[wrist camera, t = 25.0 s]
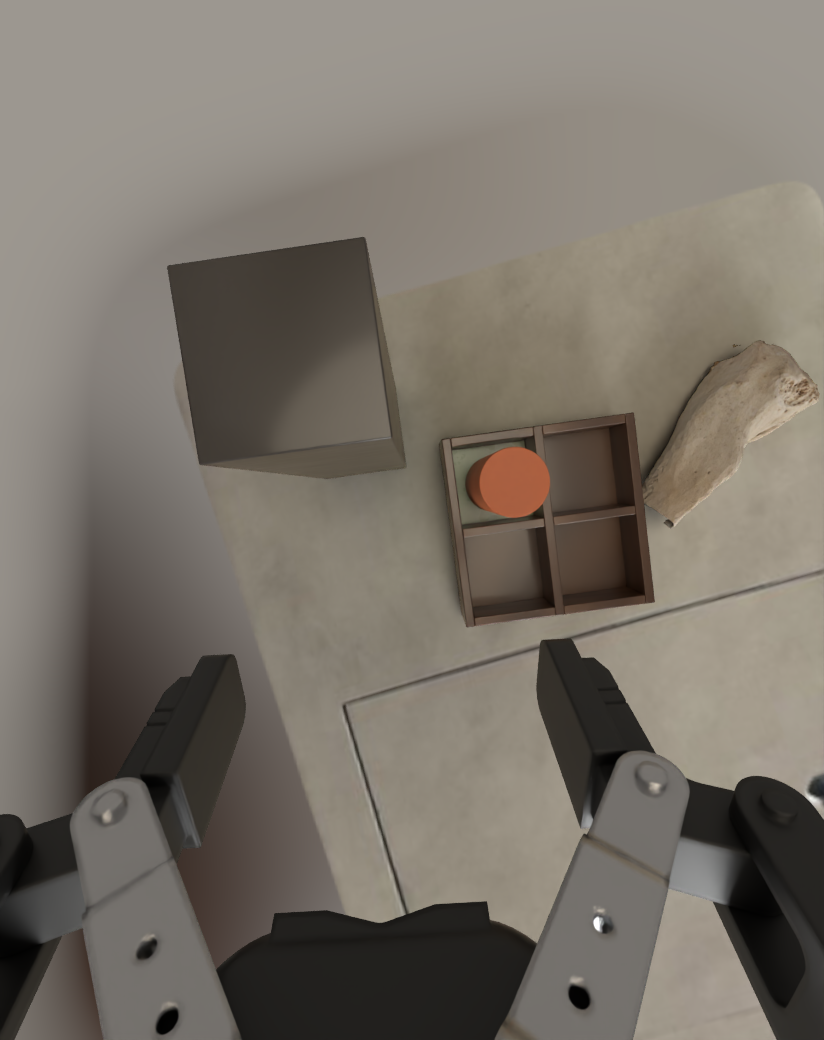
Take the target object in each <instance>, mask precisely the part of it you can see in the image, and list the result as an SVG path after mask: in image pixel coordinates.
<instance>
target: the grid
mask: <svg viewBox="0 0 824 1040" xmlns="http://www.w3.org/2000/svg"><path fill="white" fill-rule="evenodd" d="M439 447H440V455H441V462H442V470H443V477H444V485H445V492H446V500H447V507H448V515H449V522H450V530H451V537H452V545H453V552H454V560H455V567H456V575H457V582H458V590H459V597H460V605H461V612H462V616H463V619H464V621H465V624H466V627H473V626H481V625H488V624H496V623H503V622H511V621H518V620H526V619H533V618H541V617H548V616H555V615H564V614H571V613H579V612H586V611H594V610H601V609H609V608H616V607H624V606H631V605H639V604H645V603H654V602H655V600H654V591H653V582H652V573H651V564H650V555H649V546H648V537H647V528H646V518H645V509H644V500H643V491H642V482H641V473H640V464H639V455H638V446H637V437H636V428H635V418H634V413H626V414H619V415H612V416H605V417H598V418H591V419H583V420H576V421H569V422H562V423H555V424H548V425H540V426H533V427H526V428H519V429H512V430H505V431H497V432H490V433H483V434H476V435H469V436H462V437H454V438H451V439H450V438H447V439H442V440H441V442H440V444H439ZM508 447H522V448H526V449H529V450H531V451H533V452H534V453H536V454H537V455H538V456H539V457H540V458H541V459H542V460H543V461H544V463H545V464H546V466H547V468H548V472H549V476H550V488H549V492H548V495H547V497H546V499H545V501H544V502H543V504H542V505H541V506H540V507H539V508H538V509H537V510H536V511H534V512H533V513H531V514H529V515H526V516H523V517H518V518H510V517H505V516H502V515H498V514H495V513H492V512H489V511H486V510H483V509H481V508H479V507H477V506H476V505H475V504H474V503H473V502H472V501H471V500H470V498H469V496H468V494H467V491H466V485H465V483H466V476H467V473H468V471H469V469H470V468H471V467H472V465H473V464H474V463H475V462H477V461H478V460H480V459H482V458H484V457H486V456H488V455H490V454H492V453H495V452H497V451H499V450H501V449H504V448H508Z"/></svg>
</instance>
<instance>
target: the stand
mask: <svg viewBox="0 0 824 1040" xmlns="http://www.w3.org/2000/svg"><path fill="white" fill-rule="evenodd" d="M167 269H168V274H169V281H170V287H171V294H172V300H173V306H174V312H175V318H176V324H177V331H178V337H179V342H180V348H181V355H182V361H183V367H184V374H185V380H186V386H187V392H188V398H189V404H190V411H191V417H192V423H193V429H194V435H195V441H196V448H197V454H198V460H199V464H200V465H206V466H215V467H224V468H233V469H242V470H251V471H260V472H269V473H278V474H287V475H296V476H306V477H315V478H324V479H329V478H337V477H344V476H351V475H358V474H365V473H373V472H380V471H387V470H394V469H401V468H406V461H405V453H404V446H403V439H402V432H401V424H400V417H399V410H398V403H397V395H396V388H395V383H394V378H393V373H392V368H391V363H390V358H389V353H388V348H387V343H386V338H385V333H384V328H383V323H382V318H381V313H380V308H379V303H378V298H377V293H376V288H375V283H374V278H373V273H372V269H371V264H370V258H369V253H368V249H367V243H366V239H365V238H364V237H360V238H353V239H347V240H339V241H333V242H326V243H319V244H312V245H305V246H299V247H292V248H285V249H278V250H271V251H265V252H258V253H251V254H244V255H237V256H230V257H224V258H216V259H211V260H203V261H196V262H189V263H182V264H175V265H169V266H167Z"/></svg>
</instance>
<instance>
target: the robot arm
mask: <svg viewBox="0 0 824 1040" xmlns="http://www.w3.org/2000/svg"><path fill="white" fill-rule="evenodd" d="M537 700H538V705H539V709H540V712H541V715H542V718H543V721H544V724H545V727H546V730H547V732H548V735H549V738H550V741H551V744H552V747H553V750H554V753H555V756H556V759H557V761H558V764H559V767H560V770H561V773H562V776H563V779H564V782H565V785H566V788H567V790H568V793H569V796H570V799H571V802H572V805H573V808H574V811H575V814H576V817H577V819H578V822H579V825H580V828H590V829H589V831H588V833H587V835H586V834H583V836H582V837H581V839H580V841H579V844H578V846H577V848H576V851H575V853H574V856H573V858H572V861H571V863H570V865H569V868H568V870H567V873H566V875H565V878H564V880H563V882H562V885H561V887H560V890H559V892H558V895H557V897H556V899H555V902H554V904H553V907H552V909H551V912H550V914H549V916H548V919H547V921H546V924H545V926H544V929H543V931H542V934H541V936H540V938H539V941H538V943H536V942H534V941H533V940H532V939H530V938H529V937H527V936H526V935H525V934H523V933H521V932H519V931H517V930H516V929H514V928H512V927H510V926H507V925H505V924H502V923H500V922H496V921H492V920H490V919H489V912H488V905H487V901H486V902H468V903H451V904H435V905H432V906H429V907H426V908H423V909H421V910H418V911H415V912H412V913H410V914H407V915H404V916H401V917H398V918H396V919H393V920H390V921H387V922H384V923H375V922H371V921H367V920H363V919H359V918H355V917H351V916H347V915H343V914H339V913H335V912H331V911H327V910H326V911H308V912H291V913H275V914H274V919H273V924H272V930H271V933H270V934H267V935H265V936H262V937H260V938H258V939H256V940H254V941H252V942H250V943H249V944H247V945H246V946H244V947H243V948H241V949H240V950H238V951H237V952H236V953H234V954H233V955H232V956H231V957H229V958H228V959H227V960H226V961H224V962H223V963H222V964H221V965H220V966H219V967H218V968H217V969H215V966H214V964H213V961H212V958H211V956H210V953H209V950H208V948H207V945H206V943H205V940H204V937H203V934H202V932H201V929H200V927H199V924H198V921H197V918H196V916H195V913H194V911H193V908H192V905H191V902H190V900H189V897H188V895H187V892H186V889H185V886H184V884H183V881H182V879H181V876H180V873H179V871H178V868H177V865H176V864H177V862H178V859H179V856H180V854H181V851H182V848H199V847H201V845H202V842H203V839H204V836H205V833H206V830H207V828H208V825H209V822H210V819H211V816H212V813H213V810H214V807H215V804H216V801H217V799H218V796H219V793H220V790H221V787H222V784H223V781H224V779H225V775H226V773H227V770H228V767H229V764H230V761H231V758H232V755H233V752H234V750H235V747H236V744H237V741H238V738H239V735H240V732H241V730H242V727H243V723H244V718H245V710H246V703H245V696H244V692H243V688H242V683H241V679H240V674H239V670H238V665H237V661H236V658H235V656H234V655H232V654H228V655H208V656H203V657H201V659H200V660H199V662H198V664H197V666H196V668H195V670H194V672H193V674H192V676H191V677H180V678H179V679H178V680H177V681H176V682H175V683H174V684H173V685H172V686H171V687H169V688H168V689H167V690H166V691H165V692H164V694H163V695H162V697H161V699H160V701H159V702H158V704H157V706H156V708H155V712H153V713H152V715H151V716H150V718H149V720H148V722H147V726H146V727H144V729H143V731H142V732H141V734H140V736H139V738H138V739H137V741H136V743H135V745H134V746H133V748H132V750H131V752H130V753H129V755H128V757H127V759H126V760H125V762H124V764H123V766H122V767H121V769H120V771H119V773H118V774H117V776H116V778H115V779H114V780H112V781H110V782H107V783H105V784H103V785H101V786H100V787H98V788H96V789H95V790H94V791H92V792H91V793H90V794H88V795H87V796H86V797H85V798H84V799H83V800H82V801H81V802H80V804H79V805H78V806H77V808H76V809H75V811H74V813H72V814H69V815H66V816H63V817H60V818H57V819H55V820H51V821H48V822H45V823H42V824H39V825H36V826H33V827H30V828H26V827H25V826H24V824H23V822H22V820H21V819H20V818H19V817H17V816H15V815H11V814H3V815H0V1040H14V1039H15V1037H16V1035H17V1033H18V1031H19V1028H20V1026H21V1024H22V1022H23V1020H24V1018H25V1015H26V1013H27V1011H28V1009H29V1007H30V1005H31V1003H32V1000H33V998H34V996H35V994H36V992H37V990H38V987H39V985H40V983H41V981H42V979H43V977H44V974H45V972H46V970H47V968H48V966H49V964H50V961H51V959H52V957H53V954H54V953H55V951H56V948H57V946H58V944H59V942H60V940H61V937H62V935H65V934H67V933H70V932H73V931H75V930H78V929H80V928H83V933H84V938H85V943H86V949H87V954H88V959H89V965H90V970H91V975H92V980H93V986H94V991H95V997H96V1002H97V1007H98V1012H99V1018H100V1023H101V1029H102V1034H103V1039H104V1040H633V1037H634V1033H635V1029H636V1024H637V1020H638V1016H639V1012H640V1007H641V1003H642V999H643V994H644V990H645V986H646V982H647V977H648V973H649V969H650V965H651V960H652V956H653V952H654V948H655V943H656V939H657V935H658V931H659V926H660V922H661V918H662V914H663V909H664V905H665V901H666V897H667V892H668V889H671V890H675V891H678V892H682V893H685V894H689V895H692V896H696V897H699V898H703V899H706V900H710V901H713V903H714V905H715V907H716V910H717V912H718V914H719V916H720V918H721V920H722V923H723V925H724V927H725V929H726V931H727V933H728V936H729V938H730V940H731V942H732V944H733V946H734V948H735V951H736V953H737V955H738V957H739V959H740V961H741V964H742V966H743V968H744V970H745V972H746V974H747V977H748V979H749V981H750V983H751V985H752V987H753V990H754V992H755V994H756V996H757V998H758V1000H759V1002H760V1005H761V1007H762V1009H763V1011H764V1013H765V1015H766V1018H767V1020H768V1022H769V1024H770V1026H771V1028H772V1031H773V1033H774V1035H775V1037H776V1039H777V1040H824V819H823V818H822V817H821V815H820V814H819V813H818V811H817V810H816V809H815V807H814V806H813V805H812V804H811V803H810V802H809V801H808V800H807V799H806V798H805V797H804V796H803V795H802V794H800V793H799V792H798V791H796V790H795V789H793V788H792V787H790V786H788V785H786V784H784V783H782V782H780V781H777V780H775V779H771V778H768V777H762V776H750V777H746V778H744V779H742V780H741V781H740V782H739V783H738V784H737V786H736V788H735V791H732V790H728V789H723V788H719V787H714V786H710V785H706V784H701V783H698V782H694V781H692V780H689V779H687V778H685V776H684V775H683V773H682V772H681V771H680V770H679V769H678V768H677V767H676V766H675V765H674V764H673V763H672V762H670V761H669V760H667V759H666V758H664V757H662V756H660V755H657V754H656V753H655V751H654V749H653V748H652V746H651V744H650V742H649V741H648V739H647V737H646V735H645V733H644V732H643V730H642V728H641V726H640V725H639V723H638V721H637V719H636V717H635V716H634V714H633V712H632V710H631V708H630V707H629V705H628V703H626V700H625V698H624V696H623V694H622V692H621V691H620V690H619V689H618V685H617V684H616V682H615V680H614V678H613V676H612V675H611V673H610V671H609V670H608V669H607V668H605V667H604V666H603V665H602V664H601V663H599V662H598V661H597V660H596V659H595V658H581V656H580V654H579V652H578V650H577V648H576V646H575V644H574V642H573V641H572V640H571V639H551V640H542V641H541V643H540V650H539V662H538V674H537Z"/></svg>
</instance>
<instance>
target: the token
mask: <svg viewBox="0 0 824 1040" xmlns="http://www.w3.org/2000/svg"><path fill="white" fill-rule="evenodd" d="M465 485H466V491H467V494H468V496H469V498H470V500H471V501H472V502H473V503H474V504H475V505H476V506H477V507H479V508H481V509H483V510H486V511H489V512H492V513H495V514H498V515H502V516H505V517H510V518H518V517H523V516H526V515H529V514H531V513H533V512H534V511H536V510H537V509H538V508H539V507H540V506H541V505H542V504H543V502H544V501H545V499H546V497H547V495H548V492H549V488H550V476H549V472H548V468H547V466H546V464H545V463H544V461H543V460H542V459H541V458H540V457H539V456H538V455H537V454H536V453H534V452H533V451H531V450H529V449H526V448H522V447H508V448H504V449H501V450H499V451H497V452H495V453H492V454H490V455H488V456H486V457H484V458H482V459H480V460H478V461H477V462H475V463H474V464H473V465H472V467H471V468H470V469H469V471H468V473H467V476H466V483H465Z"/></svg>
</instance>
